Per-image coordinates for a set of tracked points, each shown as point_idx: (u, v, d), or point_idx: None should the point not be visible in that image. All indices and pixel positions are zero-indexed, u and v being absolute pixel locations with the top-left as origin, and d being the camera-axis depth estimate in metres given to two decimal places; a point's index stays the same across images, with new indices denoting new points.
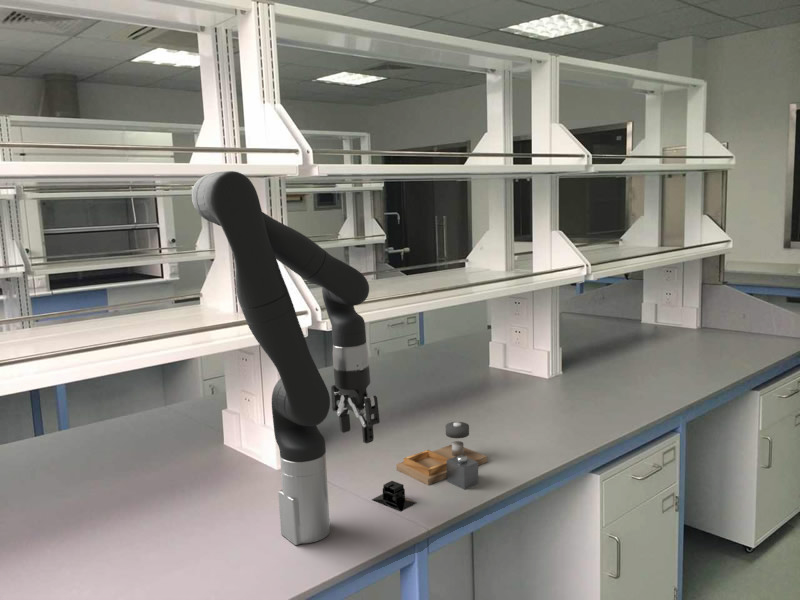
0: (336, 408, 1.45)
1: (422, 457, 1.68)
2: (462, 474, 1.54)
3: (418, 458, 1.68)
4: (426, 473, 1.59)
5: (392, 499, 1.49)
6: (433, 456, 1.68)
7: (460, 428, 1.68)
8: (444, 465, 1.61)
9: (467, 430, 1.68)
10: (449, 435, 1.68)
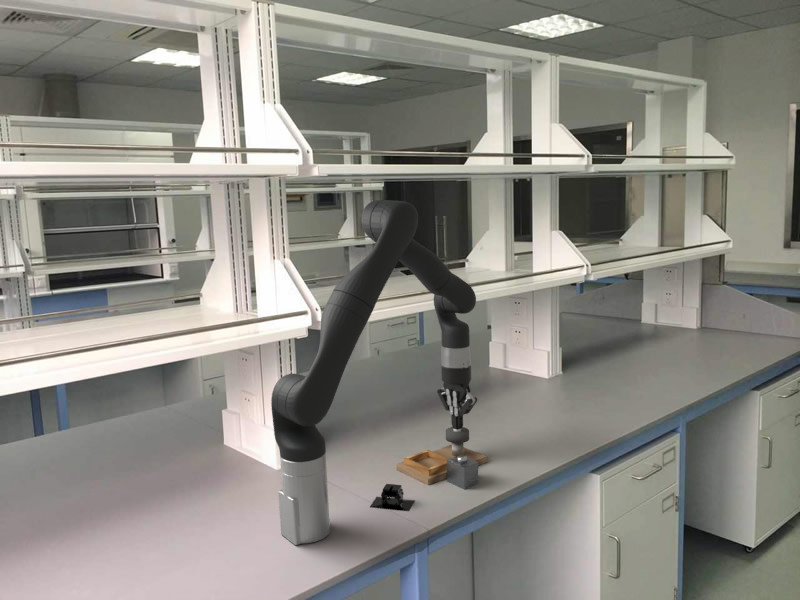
0: (449, 408, 1.70)
1: (422, 457, 1.68)
2: (462, 474, 1.54)
3: (418, 458, 1.68)
4: (426, 473, 1.59)
5: (392, 502, 1.47)
6: (433, 456, 1.68)
7: (460, 433, 1.68)
8: (444, 465, 1.61)
9: (467, 435, 1.68)
10: (449, 440, 1.68)
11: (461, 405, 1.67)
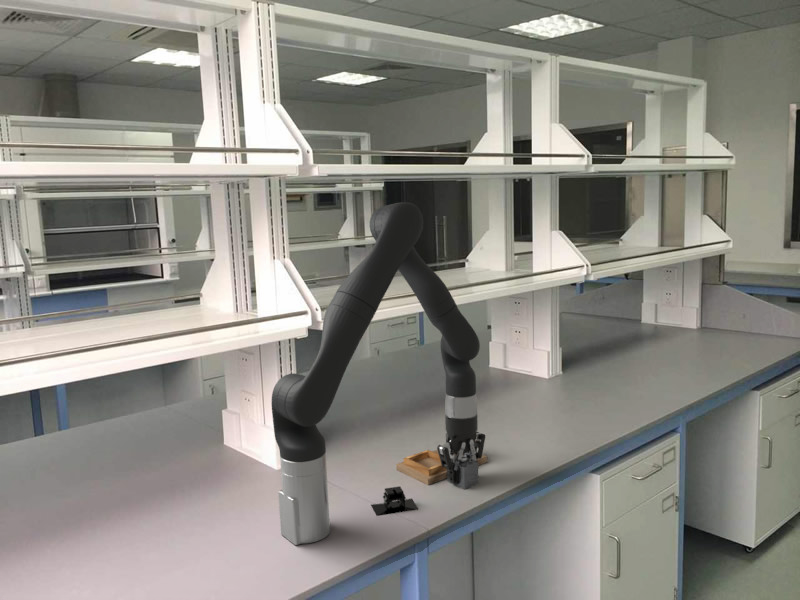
0: None
1: (422, 457, 1.68)
2: (462, 474, 1.54)
3: (418, 458, 1.68)
4: (426, 473, 1.59)
5: (395, 505, 1.46)
6: (433, 456, 1.68)
7: None
8: None
9: None
10: None
11: (453, 457, 1.55)
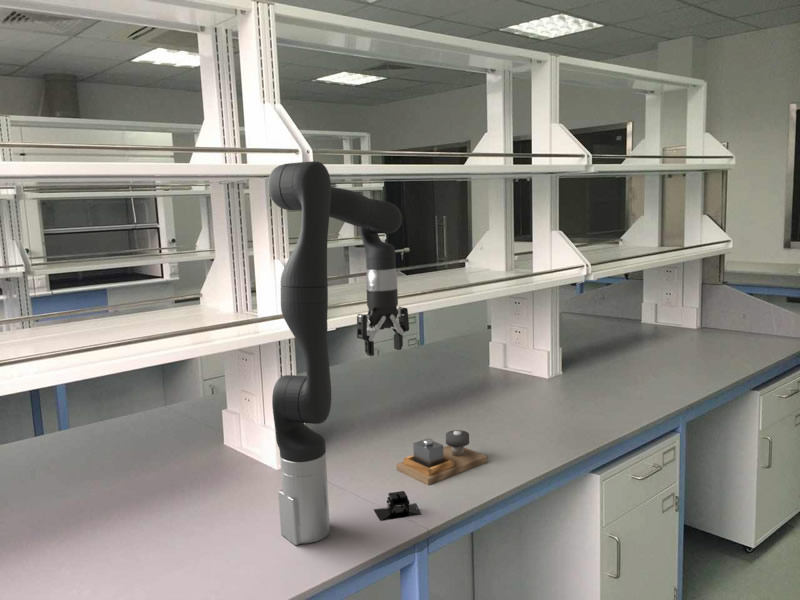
0: None
1: None
2: (427, 456, 1.61)
3: None
4: (426, 473, 1.59)
5: (399, 510, 1.44)
6: None
7: (460, 437, 1.68)
8: (444, 465, 1.61)
9: (467, 439, 1.68)
10: (449, 444, 1.68)
11: (370, 329, 1.59)
